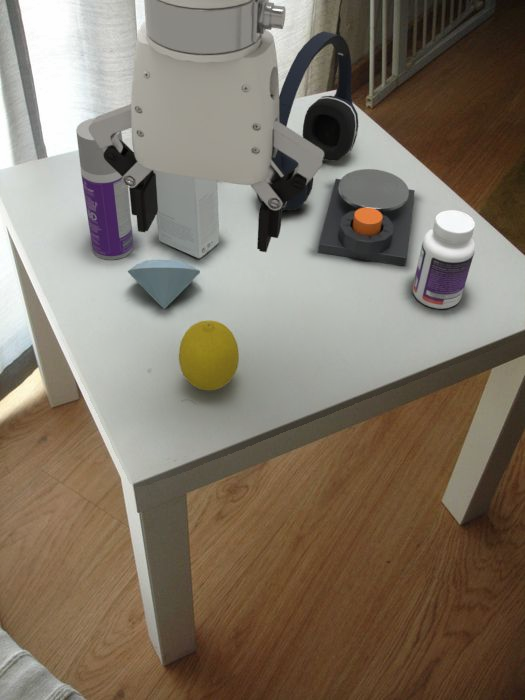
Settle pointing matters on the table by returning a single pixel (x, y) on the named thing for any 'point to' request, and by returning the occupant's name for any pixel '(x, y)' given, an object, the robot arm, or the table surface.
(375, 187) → the scale pan
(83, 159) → the container
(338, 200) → the scale
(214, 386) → the lemon
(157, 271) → the gemstone
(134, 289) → the table surface
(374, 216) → the tare button
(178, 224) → the cosmetic box
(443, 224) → the pill bottle
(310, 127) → the earphone
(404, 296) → the table surface
